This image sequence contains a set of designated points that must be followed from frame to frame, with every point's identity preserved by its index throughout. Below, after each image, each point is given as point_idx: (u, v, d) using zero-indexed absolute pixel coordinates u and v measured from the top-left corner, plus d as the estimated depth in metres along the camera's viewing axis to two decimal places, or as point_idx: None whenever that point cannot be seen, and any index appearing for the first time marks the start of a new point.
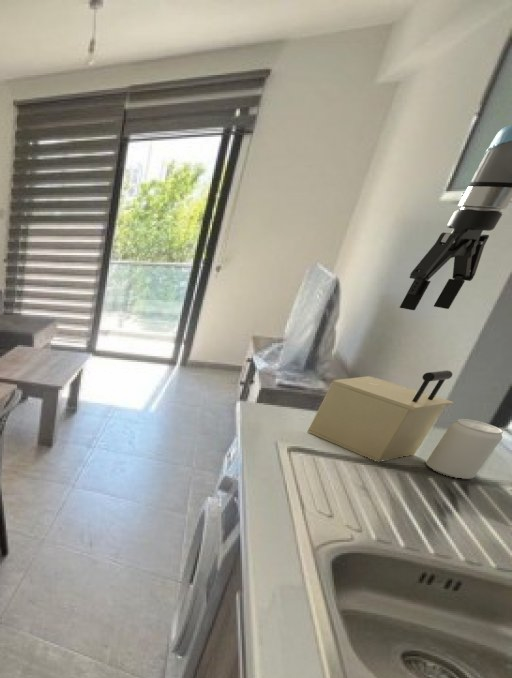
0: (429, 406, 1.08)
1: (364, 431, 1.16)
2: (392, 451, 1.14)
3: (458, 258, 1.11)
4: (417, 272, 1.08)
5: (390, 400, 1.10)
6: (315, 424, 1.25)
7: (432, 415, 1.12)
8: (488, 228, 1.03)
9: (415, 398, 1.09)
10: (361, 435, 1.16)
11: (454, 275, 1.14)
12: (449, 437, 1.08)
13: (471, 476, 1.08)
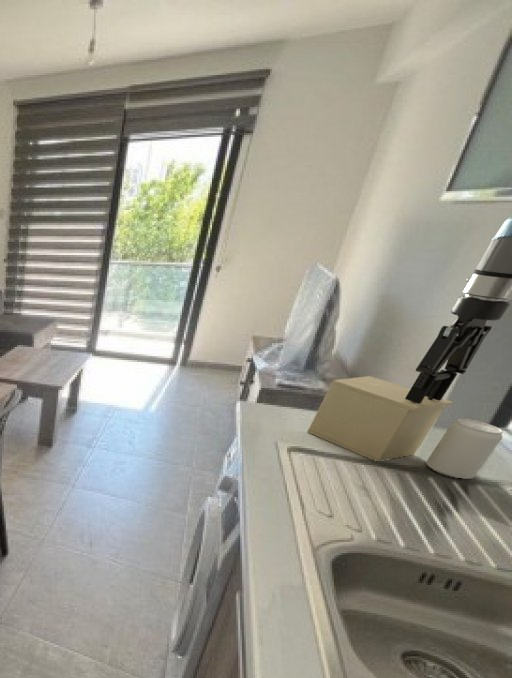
0: (429, 406, 1.08)
1: (364, 431, 1.16)
2: (392, 451, 1.14)
3: None
4: (423, 368, 1.05)
5: (390, 400, 1.10)
6: (315, 424, 1.25)
7: (432, 415, 1.12)
8: (495, 318, 0.98)
9: None
10: (361, 435, 1.16)
11: (447, 365, 1.09)
12: (449, 437, 1.08)
13: (471, 476, 1.08)
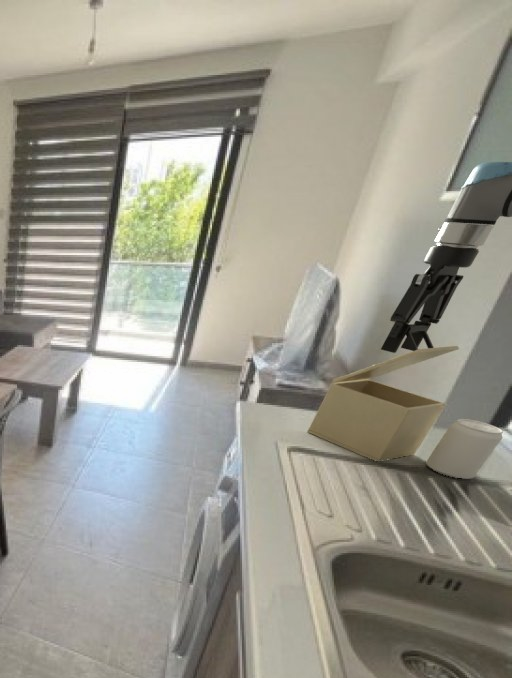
0: (433, 348, 1.06)
1: (364, 431, 1.16)
2: (392, 451, 1.14)
3: (431, 296, 1.09)
4: (397, 317, 1.08)
5: (393, 359, 1.09)
6: (315, 424, 1.25)
7: (432, 415, 1.12)
8: (465, 265, 1.01)
9: (414, 349, 1.08)
10: (361, 435, 1.16)
11: (421, 316, 1.12)
12: (449, 437, 1.08)
13: (471, 476, 1.08)
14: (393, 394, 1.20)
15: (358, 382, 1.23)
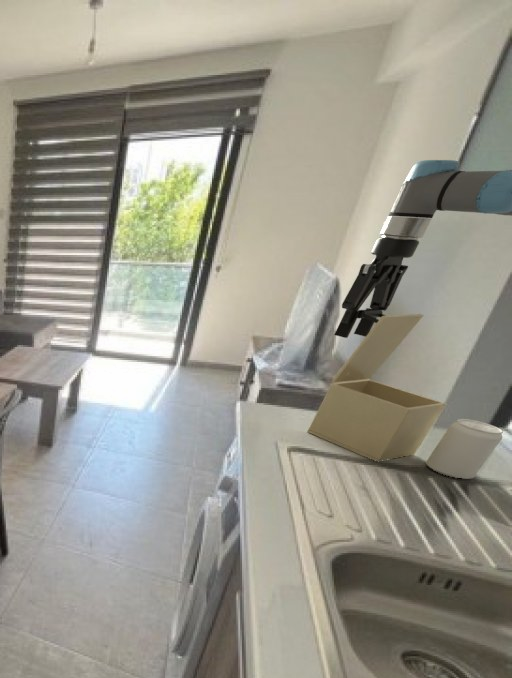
0: (397, 315, 1.11)
1: (364, 431, 1.16)
2: (392, 451, 1.14)
3: (379, 285, 1.17)
4: (347, 304, 1.16)
5: (368, 335, 1.13)
6: (315, 424, 1.25)
7: (432, 415, 1.12)
8: (406, 255, 1.09)
9: None
10: (361, 435, 1.16)
11: (371, 304, 1.20)
12: (449, 437, 1.08)
13: (471, 476, 1.08)
14: (393, 394, 1.20)
15: (358, 382, 1.23)
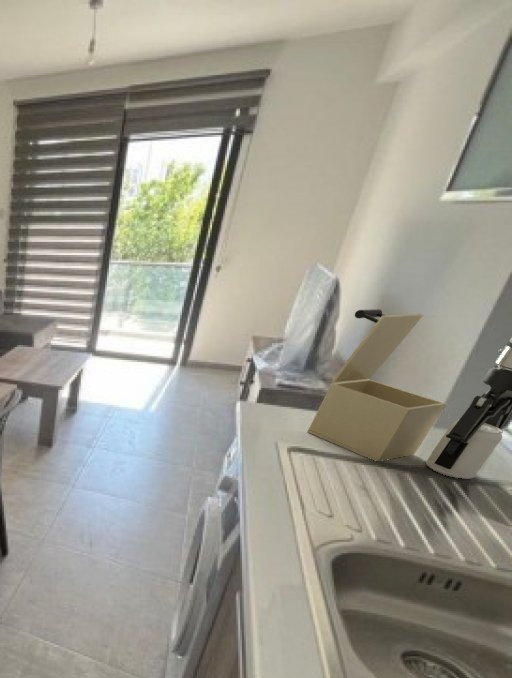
0: (397, 315, 1.11)
1: (364, 431, 1.16)
2: (392, 451, 1.14)
3: None
4: (454, 436, 1.04)
5: (368, 335, 1.13)
6: (315, 424, 1.25)
7: (432, 415, 1.12)
8: None
9: None
10: (361, 435, 1.16)
11: None
12: None
13: (471, 476, 1.08)
14: (393, 394, 1.20)
15: (358, 382, 1.23)
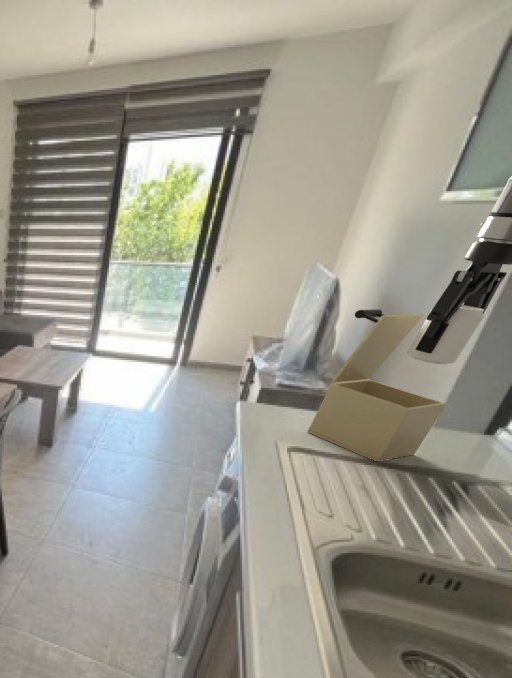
0: (397, 315, 1.11)
1: (364, 431, 1.16)
2: (392, 451, 1.14)
3: (471, 295, 1.04)
4: (434, 315, 1.02)
5: (368, 335, 1.13)
6: (315, 424, 1.25)
7: (432, 415, 1.12)
8: (510, 262, 0.96)
9: None
10: (361, 435, 1.16)
11: None
12: None
13: (452, 360, 1.05)
14: (393, 394, 1.20)
15: (358, 382, 1.23)
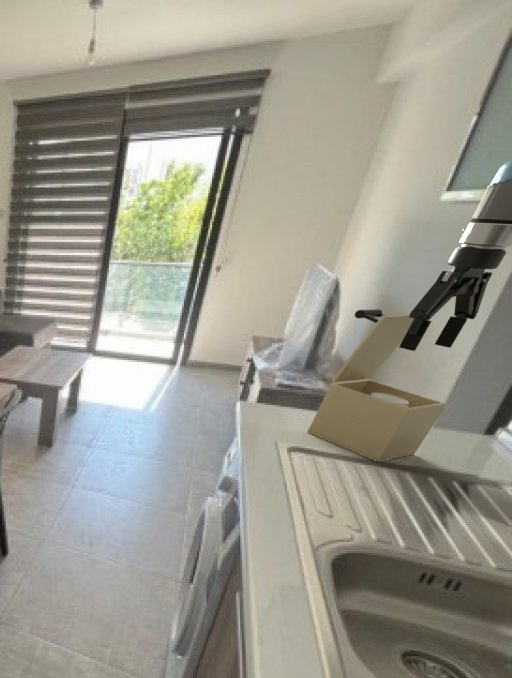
0: (397, 315, 1.11)
1: (364, 431, 1.16)
2: (392, 451, 1.14)
3: (460, 296, 1.05)
4: (417, 312, 1.02)
5: (368, 335, 1.13)
6: (315, 424, 1.25)
7: (432, 415, 1.12)
8: (491, 267, 0.97)
9: None
10: (361, 435, 1.16)
11: (456, 313, 1.09)
12: None
13: None
14: (393, 394, 1.20)
15: (358, 382, 1.23)
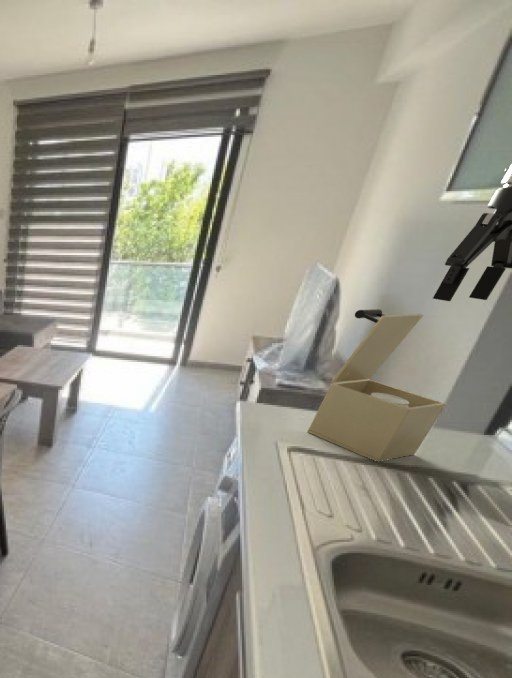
0: (397, 315, 1.11)
1: (364, 431, 1.16)
2: (392, 451, 1.14)
3: (499, 243, 0.99)
4: (454, 258, 0.96)
5: (368, 335, 1.13)
6: (315, 424, 1.25)
7: (432, 415, 1.12)
8: None
9: None
10: (361, 435, 1.16)
11: (493, 262, 1.02)
12: None
13: None
14: (393, 394, 1.20)
15: (358, 382, 1.23)
